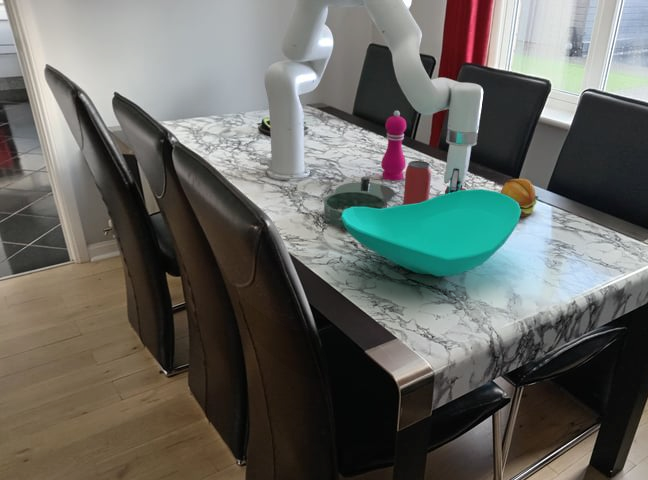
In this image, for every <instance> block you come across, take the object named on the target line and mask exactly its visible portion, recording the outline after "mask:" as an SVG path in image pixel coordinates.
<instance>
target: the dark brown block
mask: <svg viewBox="0 0 648 480" xmlns="http://www.w3.org/2000/svg"><path fill="white" fill-rule="evenodd" d="M449 186H450V185H447V186H446V188H445V190H444V194H448V193H449ZM461 190H467V188H464V187H462V188H460V191H461Z"/></svg>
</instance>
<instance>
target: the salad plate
mask: <svg viewBox="0 0 648 480" xmlns="http://www.w3.org/2000/svg"><path fill="white" fill-rule="evenodd" d="M305 124H307V122H306V121H304V135H305V134H306V133H307V132H309V131H310V127H309V126H305ZM256 125H257V129H258V130H259V132H260V134H262V135H265V136H267V137H269V138H271V133H270V118H267V117H263V118H262V120H261V122H258V123H256Z"/></svg>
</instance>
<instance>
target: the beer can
mask: <svg viewBox="0 0 648 480" xmlns="http://www.w3.org/2000/svg"><path fill="white" fill-rule="evenodd" d="M407 164H408V165H407V167H406V168H405V174H404V190H403V202H402V205H408V204H416V203H421V202H424V201H426V200H429V199H430V190H431V179H432V170H431V167H430V166H431V163H429V162H427V161H424V160H411V161H409V162H408V163H407Z"/></svg>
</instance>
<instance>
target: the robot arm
mask: <svg viewBox="0 0 648 480" xmlns="http://www.w3.org/2000/svg"><path fill="white" fill-rule="evenodd" d="M412 2H413V0H296V1H295V3H294V6H293V8H292V12H291V14H290V16H289V19H288V22H287V25H286V28H285V31H284V34H283V37H282V39H281V41H282V42H281V50H282V53H283V55H284V57H285V58H287V59H285V60H280V61H276V62H274V63H272V64H270V66H269V67H267V68H266V71H265V73H264V79H263V80H264V87H265V92H266V97H267V101H268V102H267V103H268V111H269V113H268V114H269V120H270V133H271V137H270V154H271V156H270V157H267V156H259V164H260V166H267V167H268V168H267V169H266V175H267V176H268V177H269V178H271V179H274V180H278V181H291V180H299V179H304V178H306V177H308V176H309V175H310V174H311V171H310V168H308V167H307V166H305V134H304V126H305V124H304V122H305V119H304V117H305V116H304V115H305V114H304V108H303V105H302V103H301V100H300V97H299V96H301V95H305V94H308V93H311V92H313V91H314V90H316V88H317V87H318V86H319V84H320V82H321V80H322V78H323V76H324V73H325V70H326V68H327V67H328V66H327V65H328V63H329V61H330V58H331V56H332V53H333V49H334V36H333V33H332V30H331V29H330V28H329V26H328V25H327V24H326V21H327V19H328V12H329V7H334V8H361V9H365V10H366V12H367V13H368V15H369V17H370V18H371V20H372V22H373V23H374V25H375V27H376V29H377V30H378V32H379V34H380V36H381V37H382V39H383V41H384V42H385V44H386V46H387V48H388V49H389V51H390V53H391V58H392V66H393V70H394V74H395V78H396V81H397V84H398V86H399V87H400V89H401V91H402V93H403V95H404V96H405V98H406V99H407V101H408V102H409V104H410V105H411V107H412V108H413V109H414V110H415V111H416V112H417V113H418V114H421V115H422V116H431V115H434V114H436V113H438V112H441V111H442V112H443V111H445V110H448V119H447V128H446V130H447V131H446V138H445V142H446V144H449V146H448V151H447V155H446V156H447V157H446V163H445V164H446V165H445V173H444V178H443V183H444V184H445V185H446V184H449V185H448V186H449V193H452V192H457V191H460V188H463V186H464V183H465V180H466V177H467V174H468V171H469V166H470V158H471V152H472V147H474V146H476V145H477V143H478V135H479V129H480V128H479V127H480V122H481V121H480V120H481V113H482V104H483V98H484V89H483V87H482V86H481V84H477V83H474V82H460V81H457V80H453V79H451V78H447V77H436V78H432V79H431V78H430V76H429V75H428V73H427V71H426V69H425V67H424V64H423V62H422V60H421V56H420V46H421V42H422V38H423V32H422V30H421V28H420V26H419V24H418V23H417V22H416V20H415V18H414V17H413V15H412V12H411V11H410V8H411V6H412Z"/></svg>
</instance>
